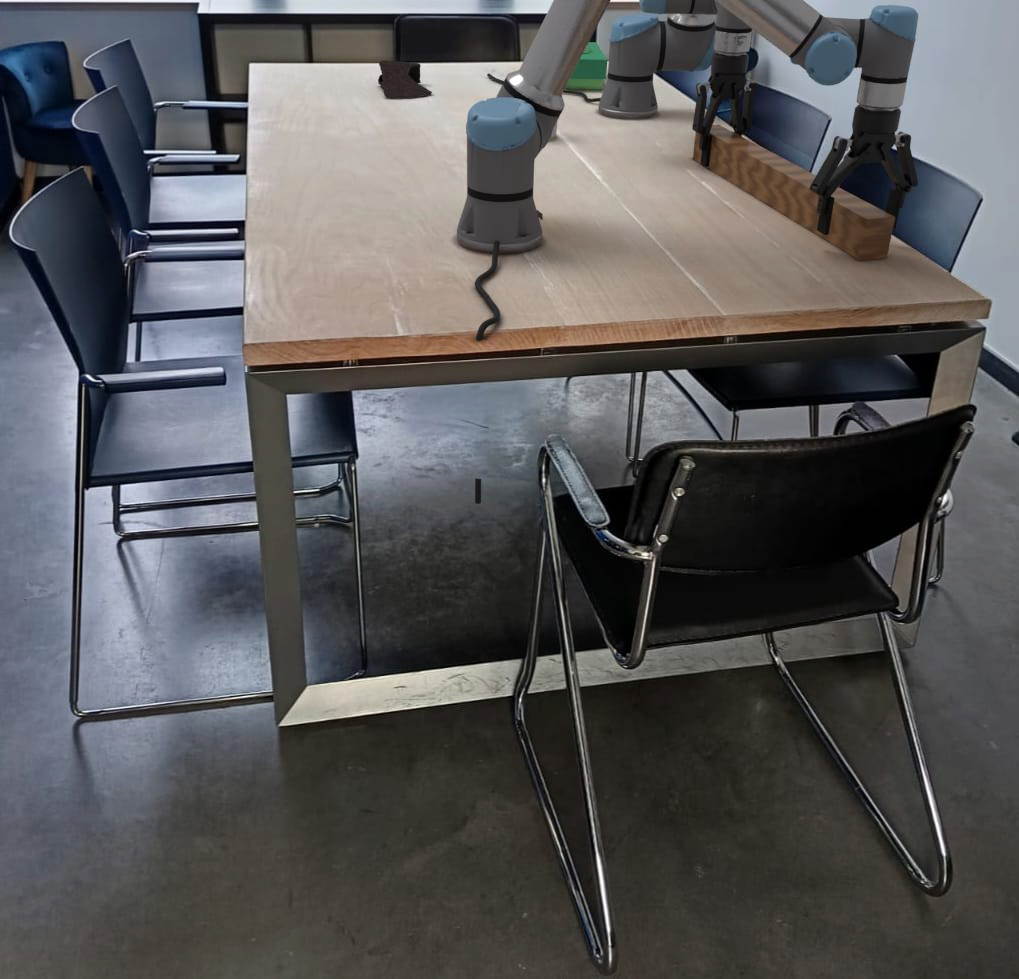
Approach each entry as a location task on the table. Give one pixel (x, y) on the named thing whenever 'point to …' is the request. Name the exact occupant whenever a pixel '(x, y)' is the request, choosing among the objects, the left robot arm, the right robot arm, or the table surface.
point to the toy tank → (589, 69)
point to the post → (798, 194)
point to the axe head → (401, 79)
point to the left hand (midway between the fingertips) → (856, 229)
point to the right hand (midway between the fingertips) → (717, 163)
